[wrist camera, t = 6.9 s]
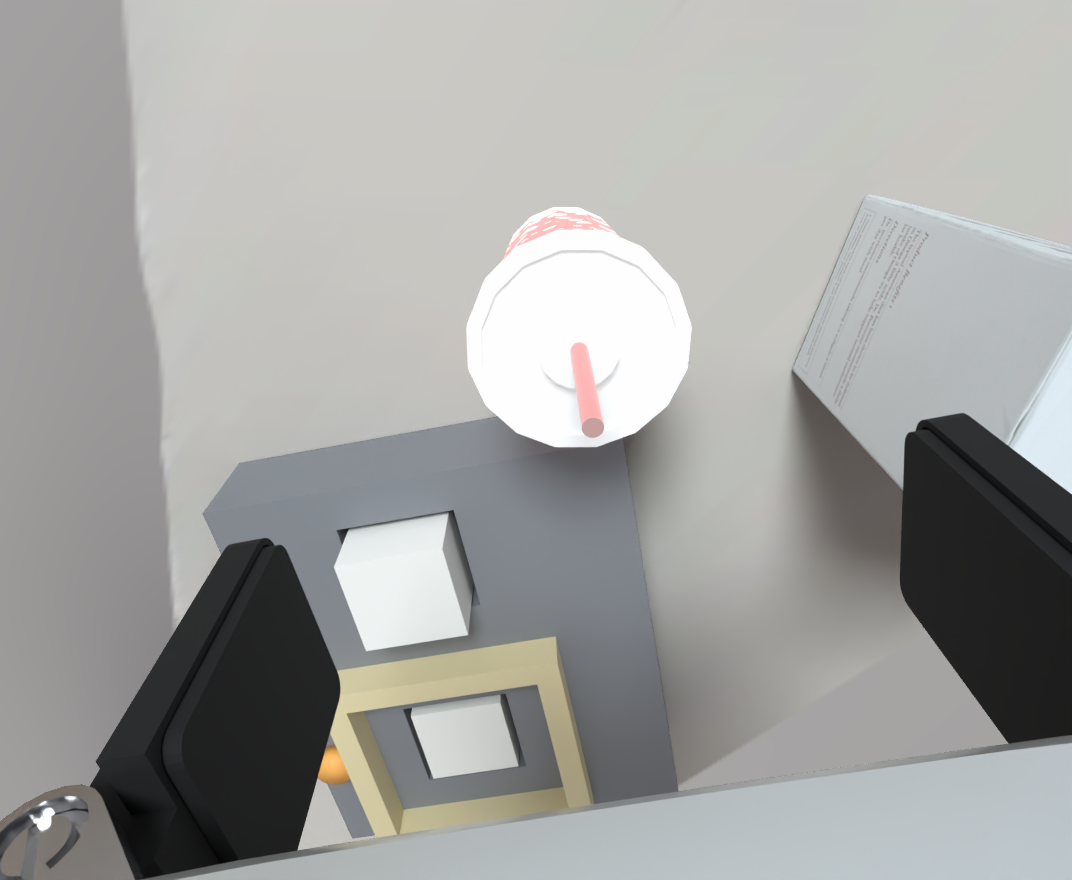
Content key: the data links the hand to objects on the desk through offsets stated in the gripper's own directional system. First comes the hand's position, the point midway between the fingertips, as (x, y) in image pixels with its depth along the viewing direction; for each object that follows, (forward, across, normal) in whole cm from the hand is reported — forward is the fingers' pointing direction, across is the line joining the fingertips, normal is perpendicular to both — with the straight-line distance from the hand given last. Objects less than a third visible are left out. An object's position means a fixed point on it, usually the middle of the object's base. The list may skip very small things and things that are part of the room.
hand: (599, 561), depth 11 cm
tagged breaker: (+19, +8, +19) cm, 28 cm away
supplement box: (+19, -14, +4) cm, 24 cm away
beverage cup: (+19, 0, 0) cm, 19 cm away
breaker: (+17, +8, +10) cm, 21 cm away
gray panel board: (+19, +6, +15) cm, 25 cm away
